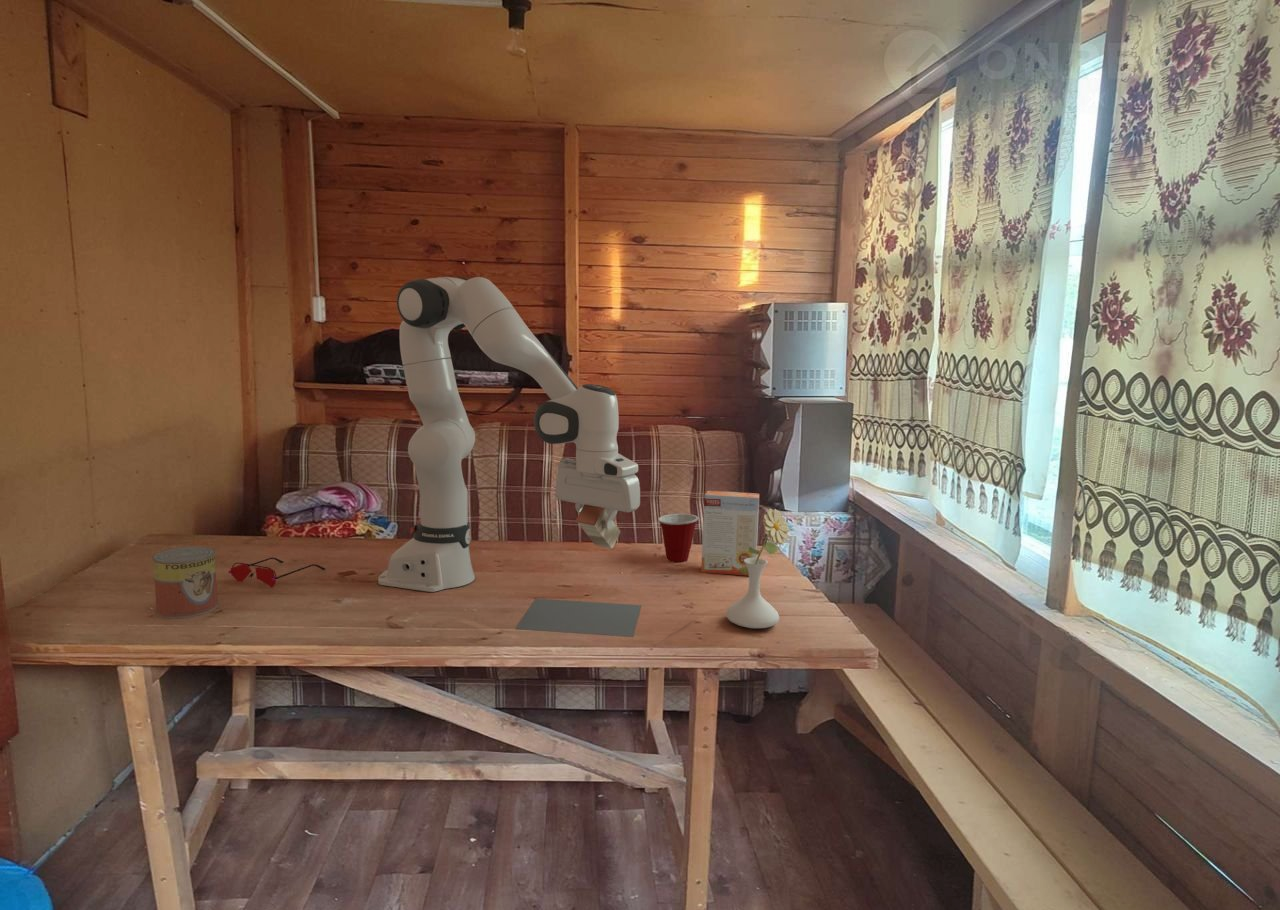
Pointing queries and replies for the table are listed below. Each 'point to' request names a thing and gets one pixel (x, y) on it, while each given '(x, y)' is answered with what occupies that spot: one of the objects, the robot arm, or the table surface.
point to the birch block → (597, 526)
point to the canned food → (185, 582)
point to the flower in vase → (752, 605)
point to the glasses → (260, 572)
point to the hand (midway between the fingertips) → (595, 526)
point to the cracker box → (729, 531)
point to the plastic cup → (678, 535)
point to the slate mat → (581, 617)
